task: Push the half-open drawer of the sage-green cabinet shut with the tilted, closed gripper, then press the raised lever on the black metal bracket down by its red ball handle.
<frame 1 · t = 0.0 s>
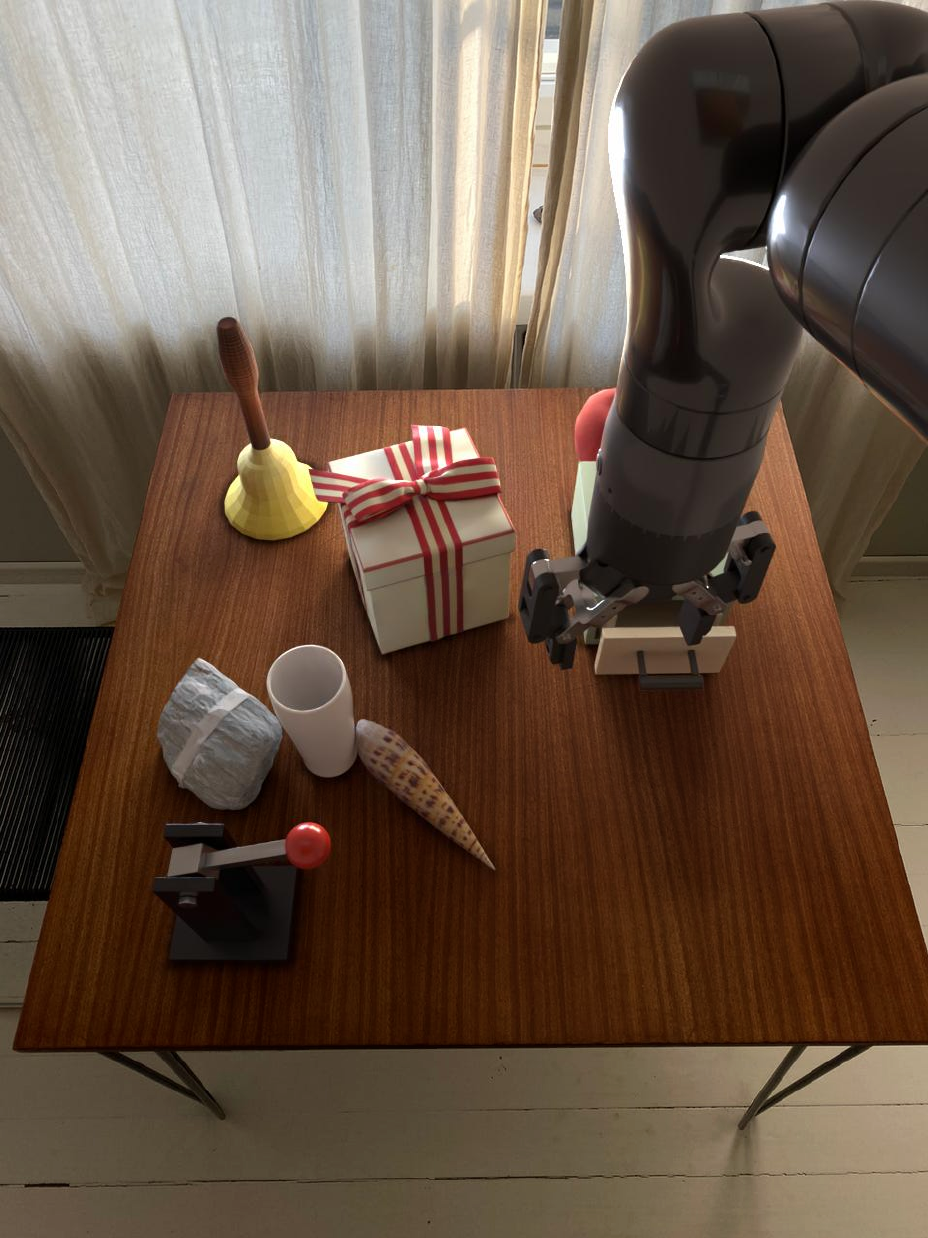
hand: (625, 645, 56), 30 cm above the table, tool pointing down, fingers open, 8 cm apart
cabinet: (639, 575, 96), on the table
bracket: (237, 915, 76), on the table
seashell: (425, 805, 82), on the table
handbell: (277, 500, 103), on the table
decorative stone: (225, 747, 86), on the table
lever: (251, 855, 63), point 16 cm above the table, hinge at 25.0°
drawer: (655, 604, 89), point 4 cm above the table, slide at 3.0 cm
gift box: (416, 579, 97), on the table
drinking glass: (331, 755, 85), on the table
apple: (613, 475, 105), on the table
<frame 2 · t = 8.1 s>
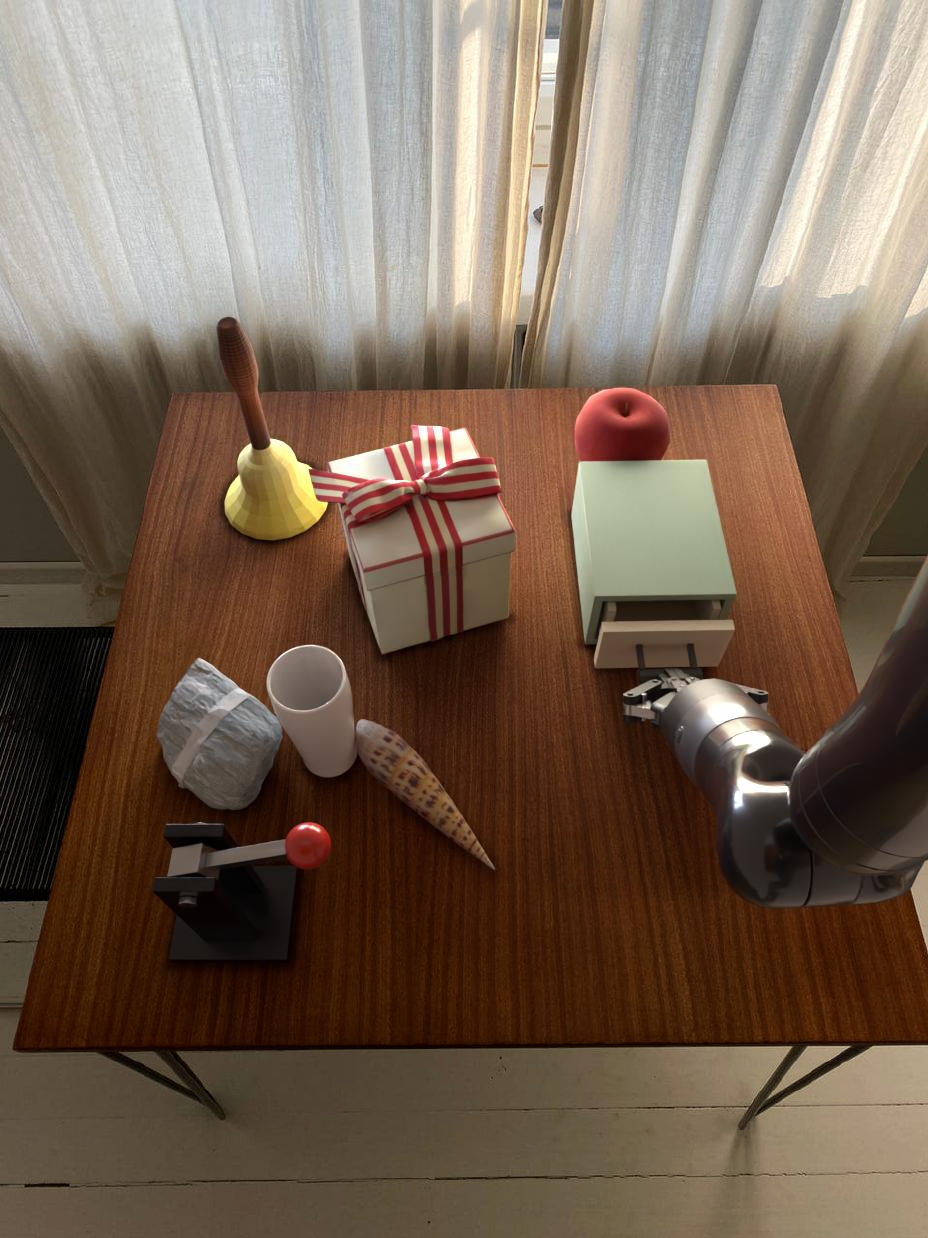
hand: (670, 678, 83), 6 cm above the table, tool tilted 45°, fingers closed
drawer: (654, 598, 89), point 4 cm above the table, slide at 2.3 cm, touching gripper
everything else where it was.
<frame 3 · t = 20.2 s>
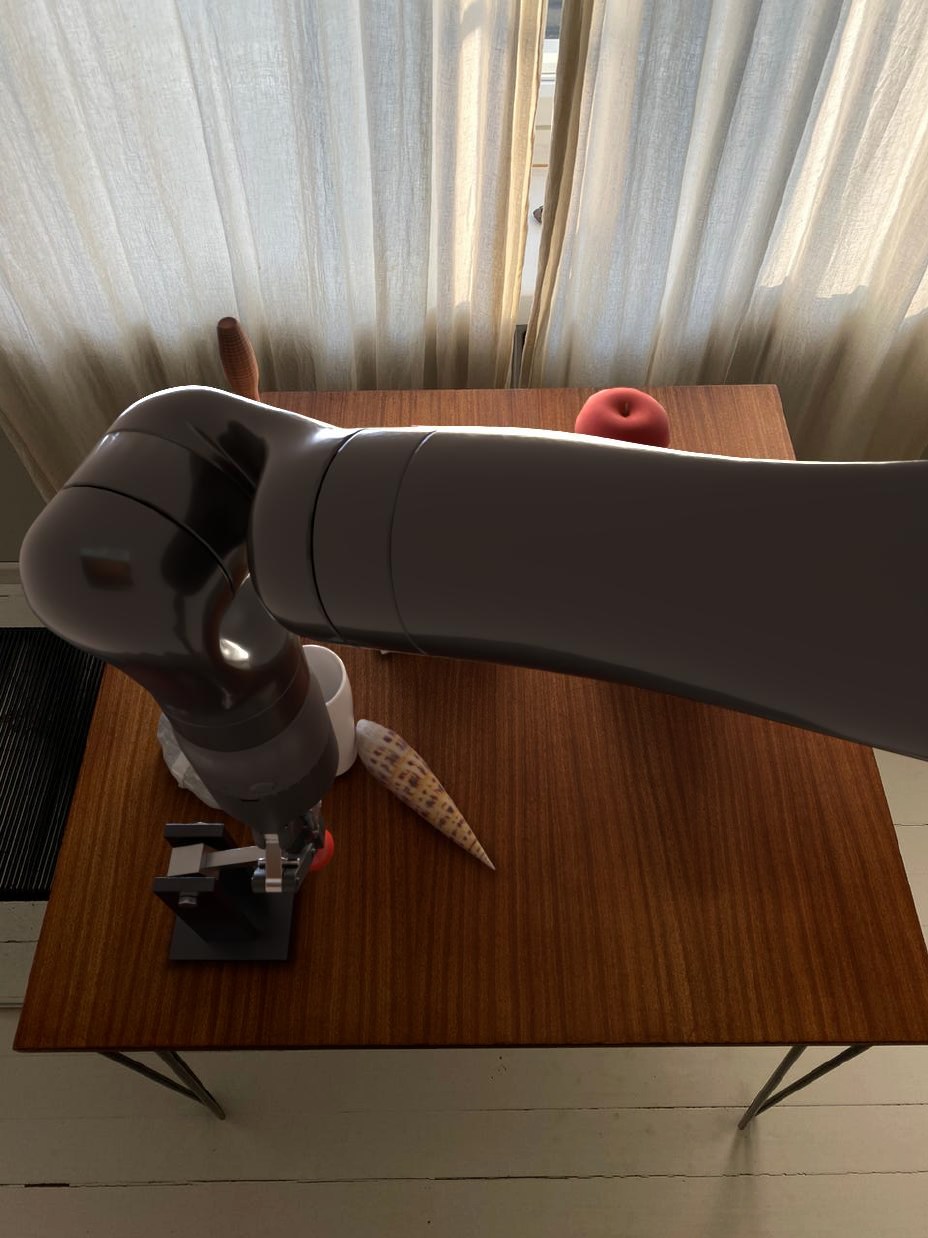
hand: (310, 839, 60), 19 cm above the table, tool pointing down, fingers closed
lever: (252, 856, 63), point 16 cm above the table, hinge at 22.5°, touching gripper
drawer: (651, 580, 91), point 4 cm above the table, slide at 0.0 cm, touching cabinet
everything else where it was.
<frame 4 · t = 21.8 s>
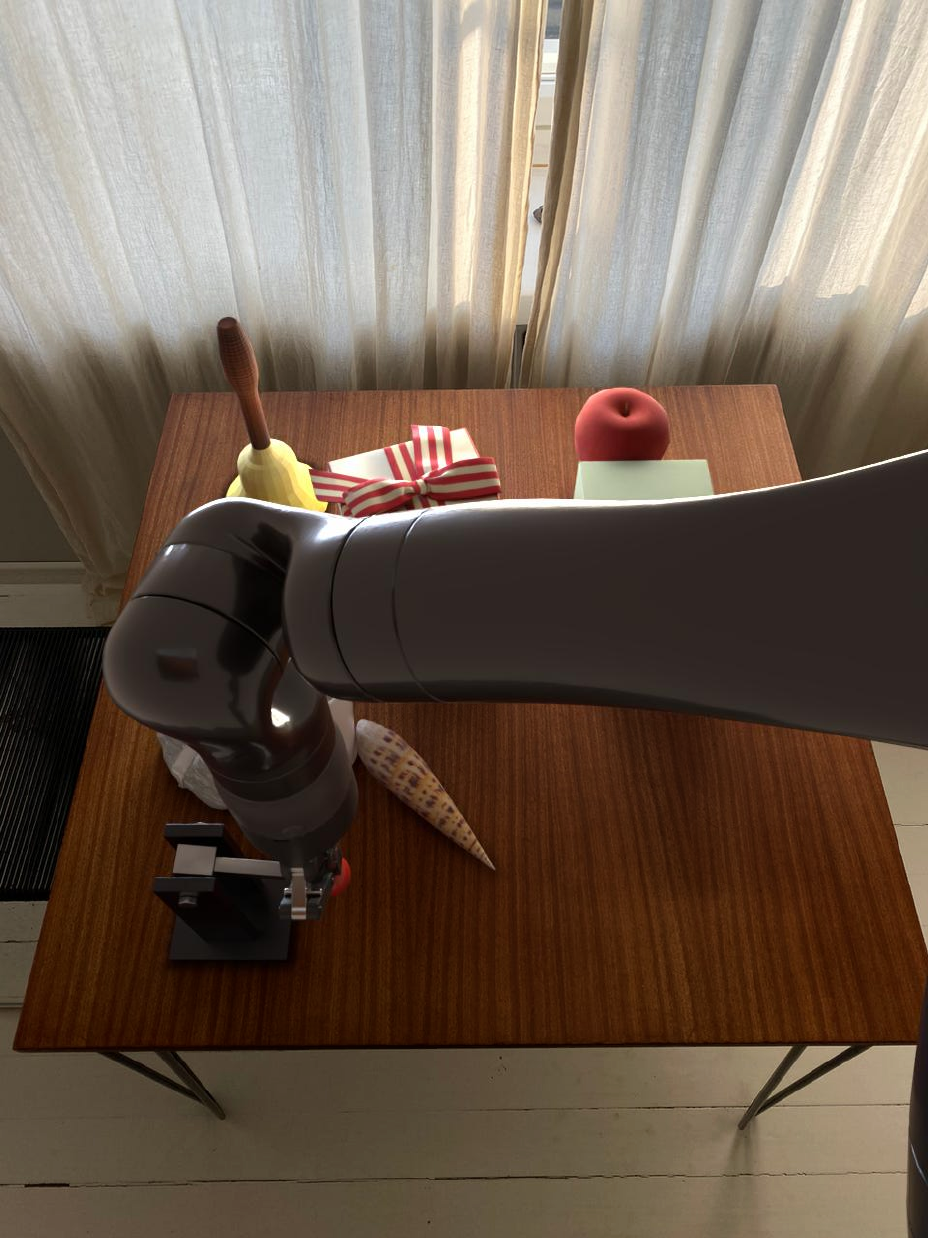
hand: (328, 866, 65), 13 cm above the table, tool pointing down, fingers closed
lever: (264, 869, 66), point 13 cm above the table, hinge at -14.2°, touching gripper
everything else where it was.
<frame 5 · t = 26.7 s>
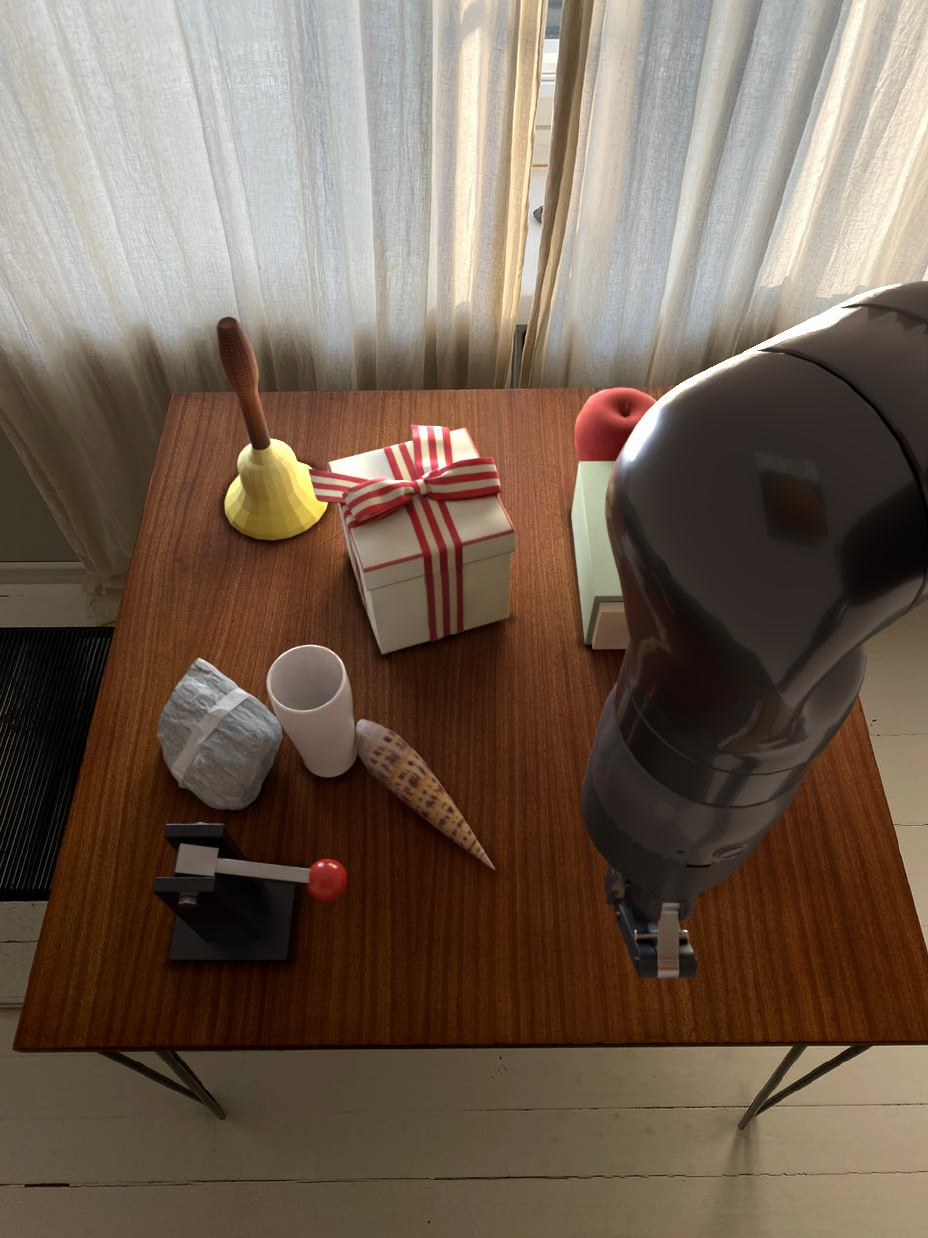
hand: (624, 893, 48), 29 cm above the table, tool pointing down, fingers closed
lever: (263, 872, 66), point 12 cm above the table, hinge at -22.2°
everything else where it was.
at the end: drawer slide at 0.0 cm; lever at -22° (first picture: +25°) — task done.
